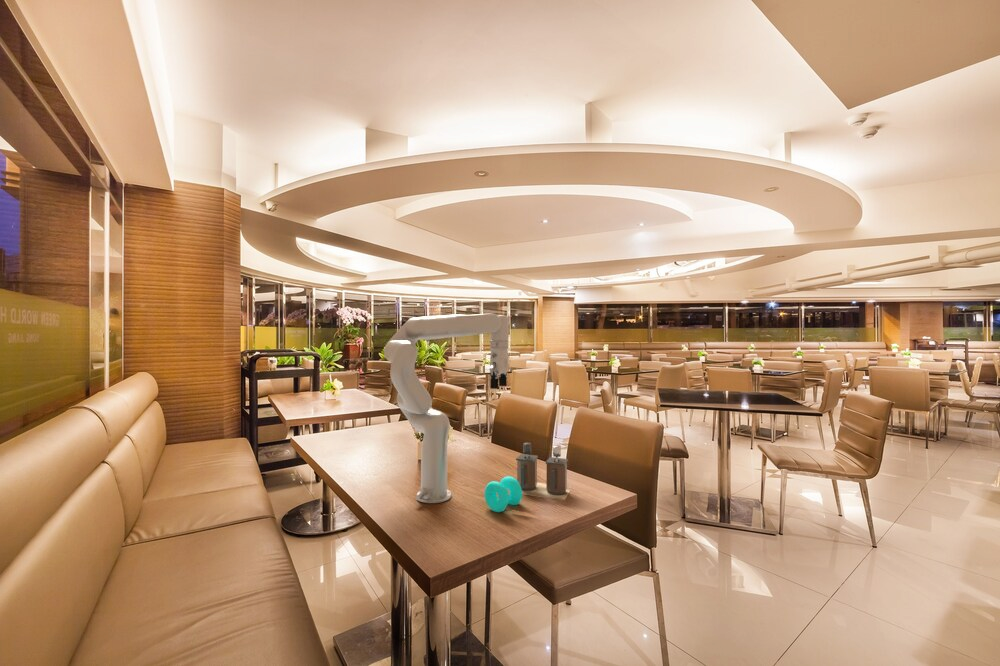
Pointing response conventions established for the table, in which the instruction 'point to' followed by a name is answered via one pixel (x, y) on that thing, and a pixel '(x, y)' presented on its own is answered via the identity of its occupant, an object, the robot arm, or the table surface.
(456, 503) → the table surface
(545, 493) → the serving board
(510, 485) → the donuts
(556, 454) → the plunger
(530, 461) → the far press
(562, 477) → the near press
